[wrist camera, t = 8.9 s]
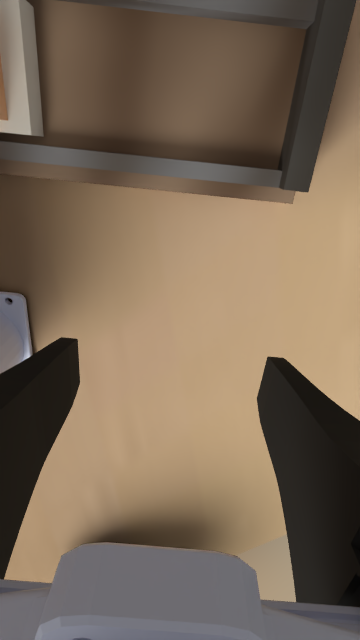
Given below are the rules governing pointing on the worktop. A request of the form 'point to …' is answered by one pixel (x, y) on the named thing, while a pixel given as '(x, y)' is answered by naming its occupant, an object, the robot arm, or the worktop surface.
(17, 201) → the worktop surface
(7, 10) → the block
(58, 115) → the rail board
